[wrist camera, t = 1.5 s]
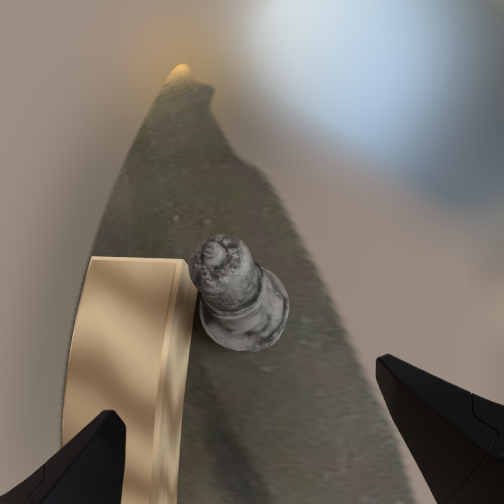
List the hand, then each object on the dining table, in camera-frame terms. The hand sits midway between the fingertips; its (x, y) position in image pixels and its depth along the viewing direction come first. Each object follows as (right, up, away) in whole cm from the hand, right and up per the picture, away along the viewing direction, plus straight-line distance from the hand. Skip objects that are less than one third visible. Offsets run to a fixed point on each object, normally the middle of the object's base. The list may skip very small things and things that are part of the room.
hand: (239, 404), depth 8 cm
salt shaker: (0, 0, +14) cm, 14 cm away
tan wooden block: (-9, -6, +12) cm, 16 cm away
